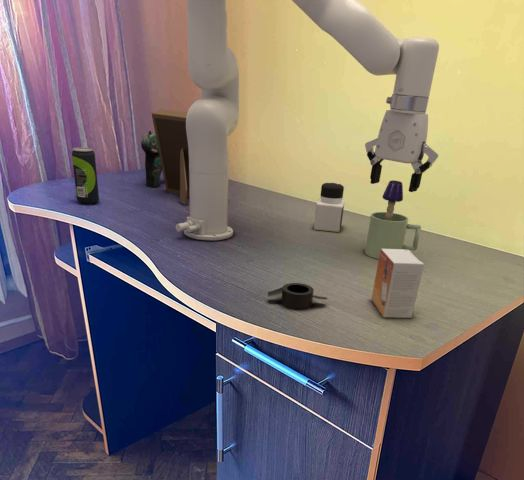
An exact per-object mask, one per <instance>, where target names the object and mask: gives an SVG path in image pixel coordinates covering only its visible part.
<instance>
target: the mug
mask: <svg viewBox="0 0 524 480" xmlns="http://www.w3.org/2000/svg"><path fill="white" fill-rule="evenodd" d="M386 213H387V211H376V212H372V213H370V217H369V218H370V219H369V222H368V223H369V224H368V229H367V237H366V244H365V249H364V253H365V255H367V257H368V256H369V257H370V258H372V259H376V260H379V256H380V250H381V249H404V250H410V251H413V252H414V251H417V249H418V245H419V241H420V235H421V231H422V226H421V224H411V223H409V217H408V216H406V215H403V214H400V213H396V212H393V217H392V219H391V220H392V221H387V220H385V219H386V218H385V215H386ZM407 230H414V231H415V233H414V237H413V242H412V245H411V244H405V240H406V234H407Z"/></svg>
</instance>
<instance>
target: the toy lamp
mask: <svg viewBox="0 0 524 480" xmlns="http://www.w3.org/2000/svg"><path fill="white" fill-rule="evenodd" d="M382 199H383V200H384V201H387V207H386V212H387V213H386V215H385V218H386V219H385V220H387V221H392V220H391V219H392V217H393V213H395V212H394V211H395V206H396V203H400V202H402V201H404V188H403V182H402V181H399V180H395V179H394V180H389V181H388V183H387V186H386V187H385V190H384V192H383V194H382Z"/></svg>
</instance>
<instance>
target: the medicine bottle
mask: <svg viewBox="0 0 524 480" xmlns="http://www.w3.org/2000/svg"><path fill="white" fill-rule="evenodd" d="M344 190H345V186H344V185H342V184H341V183H338V182H324V183H322V184H321V187H320V194H319V195H320V197H319V198H318V200H317V202H316V205H315V212H314V213H315V214H314V223H313V230H314V231H316V230H317V231H324V232H331V233H332V232H333V233H340V232H341V229H342V223H343V217H344V216H343V215H344V208H345V201H344V200H343V197H344Z"/></svg>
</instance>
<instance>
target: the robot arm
mask: <svg viewBox="0 0 524 480" xmlns="http://www.w3.org/2000/svg"><path fill="white" fill-rule="evenodd" d="M291 1H292V3H294V4H295V5H296V6H297V7H298V8H299V9H300V10H301V11H302V12H303V13H304V14H305V15H306V16H307V17H308V18H309V19H310V20H311V21H312V22H313V23H314V24H315V25H316V26H317V27H318V28H319V29H321V31H323V32H325V33H327V34H328V35H329V36H331V38H333V39H334V40H335V41H336V42H337V43H338V44H339V45H340V46H341V47H342V48H343V49H344V50H346V52H347V53H348V54H349V55H351V57H353V59H354V60H356V61H357V62H358V63H359V64H360V65H361V66H362V68H364V70H365V71H367V73H369V74H371V75H372V76H378V77H379V76H389V75H390V76H391V75H392V76H393V75H395V81H394V86H393V92H392V94H391V96H387V97H386V100H385V102H386V104H388V105H389V109H386V110H385V113H384V115H383V118H382V121H381V124H380V128H379V131H378V135H377V137H376V138H374V139H372V140H369V141H367V142H366V143H364V147H365V152H366V157H367V158H368V160H369V161H370V165H371V169H370V170H371V171H370V174H369V175H370V176H369V178H370V184H372V185H374V184H375V185H376V184H379V183H380V180H381V176H382V175H381V174H382V169H383V164H381V163H382V162H383V161H391V162H397V163H402V164H410V165H411V167H412V169H413V172H412V173H411V175H410V176H411V177H410V182H409V187H408V192H410V193H413V192H417V191H418V189H419V188H420V186H421V181H422V177H423V173H424V174H425V172H426V171H427V170H429V169H430V168H432V166H433V165H434V163H435V162H436V161H437V159H438V158H439V153H437V152H436V151H435V150H434V149H432V148H431V147H430V145H428V144H427V141H428V140H427V139H428V132H429V114H428V113H427V108H428V103H429V98H430V94H431V89H432V86H433V85H432V84H433V80H434V75H435V70H436V67H437V66H436V65H437V60H438V56H439V50H440V44H439V42H438V40H436V39H435V38H429V37H419V36H418V37H417V36H414V37H411V36H410V37H407V38H399V37H396V36H395V35H394V34H393V33H392V32H391V31H390V30H389V29H388V28H387V27H386V26H385V25H384V24H383V23H382V22H381V21H380V20H379V19H378V18H377V17H376V16H375V15H374V14H373V13H372V12H371V11H370V10H369V9H368V8H367V7H366V6H365V5H364V4H363V3H362V2H361V1H360V0H291ZM186 11H187V15H186V16H187V54H188V55H187V57H188V59H187V61H188V73H189V77H190V79H191V81H192V83H193V84H194V85H195V86H196V87H197V88H199V89H200V98H199V99H197V100H195V101H194V102H193V103H192V104H191V106H189V108H188V111H187V112H186V113H187V117H186V132H187V140H188V150H189V193H190V196H189V216H186V220H185V221H184V222H180V223H176V224H175V231H176V232H178V233H181V232H183V234H184V235H185V236H186V237H188V238H190V239H194V240H200V241H222V240H223V241H224V240H226V239H230V238H231V237H232V236H233V235H234V229H233V228H232V227H231V226H229V225H228V213H229V211H228V209H229V207H228V205H229V168H230V167H229V166H230V165H229V164H230V160H229V159H230V158H229V157H230V155H229V144H228V143H229V142H228V136H230V135H231V134H233V132H234V131H235V130H236V129H237V126H238V123H239V118H240V69H239V67H240V66H239V63H238V59H237V57H236V55H235V53H234V52H233V50H232V49H230V48H229V46H228V14H227V0H186ZM374 147H375V149H374ZM425 155H426V156H427V159H426V161H425V162H424V163H423V159H424V157H425Z"/></svg>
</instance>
